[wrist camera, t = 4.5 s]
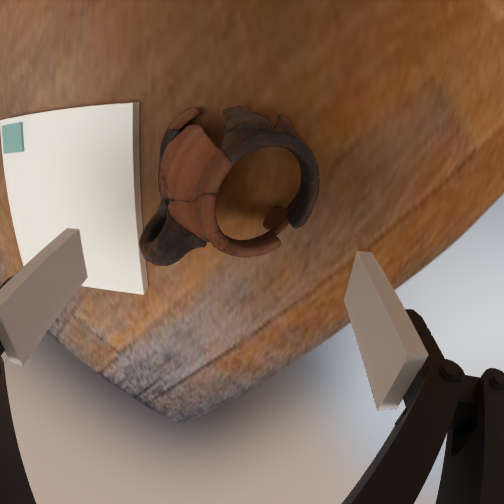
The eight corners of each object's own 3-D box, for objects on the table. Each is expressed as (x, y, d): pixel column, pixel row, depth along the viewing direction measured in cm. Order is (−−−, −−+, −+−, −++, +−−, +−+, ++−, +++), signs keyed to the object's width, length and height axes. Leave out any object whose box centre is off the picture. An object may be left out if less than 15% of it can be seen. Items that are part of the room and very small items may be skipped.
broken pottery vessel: (209, 67, 19) (271, 76, 13) (286, 148, 25) (356, 189, 19) (96, 203, 20) (105, 273, 14) (190, 257, 27) (230, 326, 21)
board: (139, 102, 19) (131, 103, 18) (148, 286, 26) (142, 296, 25) (8, 118, 19) (-3, 121, 18) (33, 270, 26) (25, 278, 25)
